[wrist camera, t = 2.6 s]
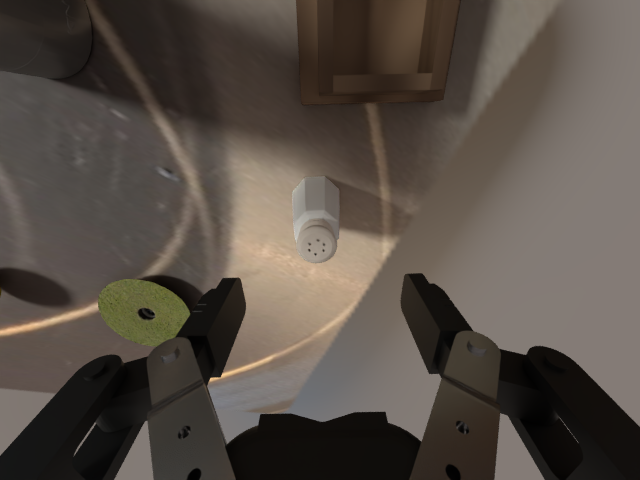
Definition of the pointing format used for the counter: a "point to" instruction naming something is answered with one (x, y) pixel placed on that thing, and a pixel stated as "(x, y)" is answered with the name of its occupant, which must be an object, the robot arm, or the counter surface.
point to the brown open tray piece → (374, 50)
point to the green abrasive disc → (142, 311)
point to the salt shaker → (316, 218)
